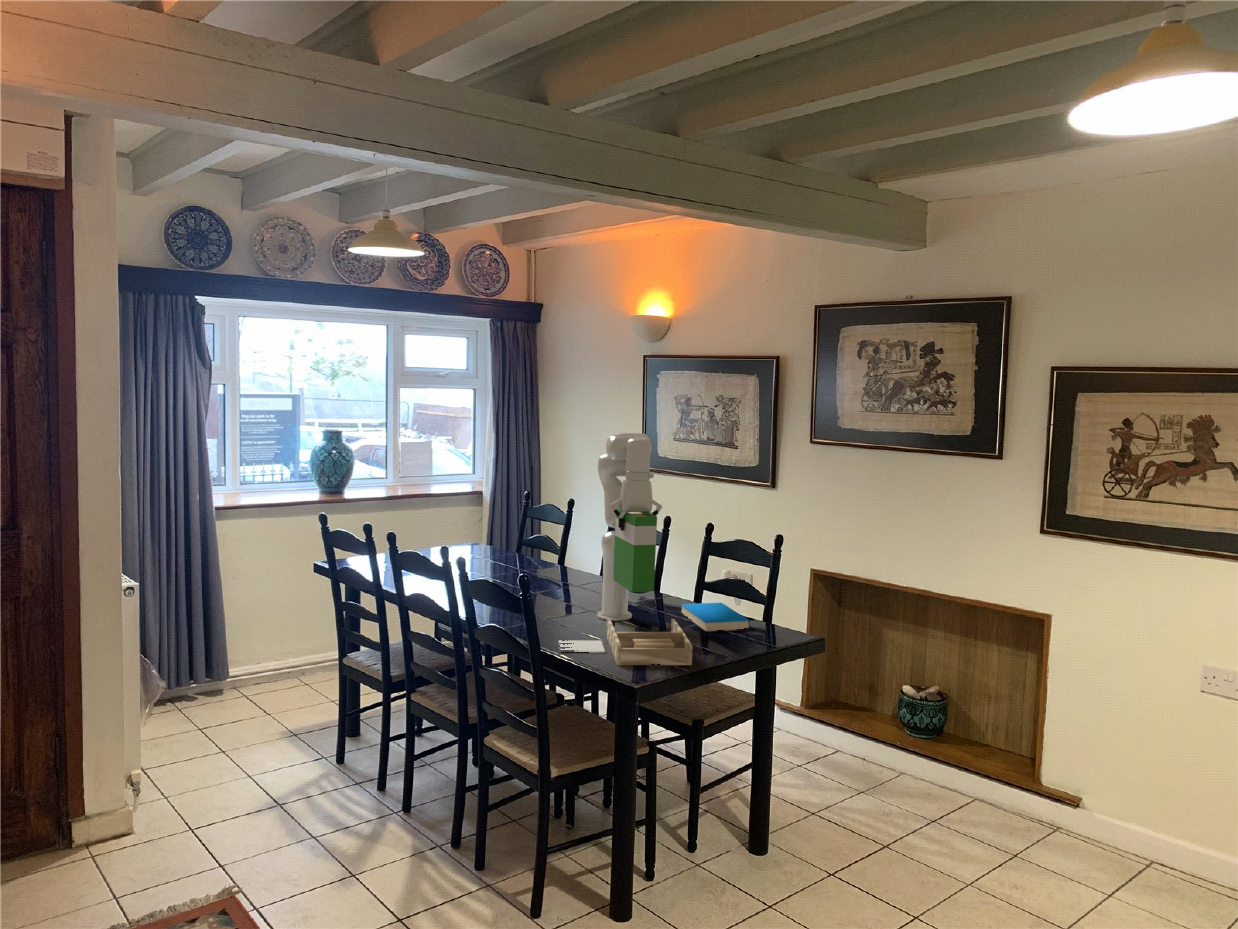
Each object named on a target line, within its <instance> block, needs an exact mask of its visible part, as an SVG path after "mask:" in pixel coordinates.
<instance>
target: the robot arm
mask: <svg viewBox="0 0 1238 929" xmlns="http://www.w3.org/2000/svg"><path fill="white" fill-rule="evenodd" d="M605 449H606V453H604V454H601V456H599V458H598V461H597V472H598V476H599V481H600V483H601V485H602V488H603V492H604V495H603V496H604V497H603V498H604V499H603V500H604V518H605V524H606V525H607V526H608V527H609V528H613V529H615V521H616V515H617V516H618V517H619V523H618V527H619V528H620V530H621V531H623V530H624V518H623V516H624V515H625V513H626V512H647V513H650V514H652V515H655V516H657V515H659V512H661V510H662V508H663V506H662V504H660V503H659V502H657V501H656V500H654V499H653V489H652V488H653V486H652V481H651V479H652V478H653V479H654V476H655V475H654V473H651V471H650V469H651V468H650V465H651V453H652V449H653V448H652V442H651V439H650V437H649V436H648V435H647V434H646V433H642V432H641V433H640V432H639V433H637V432H619V433H615V434H610V435H609V436H608V437H607V440H606V444H605ZM618 477H624V478H625V479H623V480H621V479H620V478H618ZM653 506H655V510H653ZM616 508H619V509H621V511H620V512H618V511H617V509H616ZM614 546H615V530H611V531H610V530H609V531H607V532H605V533H604V534H603V536H602V537H601V550H602V559H603V560H602V590H601V592H602V594H601V595H602V597H601V610H599V611H597V614H596V616H597V617H598V619H602V620H604V619H605V621H607V619H611V622H613V621H615V622H616V621H617V622H618V621H627V620H628V621H629V620H630V619H631V618H632V616H633V615H632V614H633V613H631V612H630V611H628V609H629V608H628V606H629V590H628V589H626V588H625V587H623V586H622V585H620V584H619V583H617V582H616V581H614V580H613V572H614Z"/></svg>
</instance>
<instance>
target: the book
mask: <svg viewBox="0 0 1238 929" xmlns="http://www.w3.org/2000/svg"><path fill="white" fill-rule="evenodd" d="M680 606H681V614H682V613H683V614H684V615H683V614H682V615H683V616H685V617H686V616H687V617H688V618H687V617H686V618H687V619H689V620H690V619H691V620H692V621H691V620H690V621H691V622H693V623H694V624H696V625H697V626H698V627H700V629H702V630H704V631H705V632H718V631H717V630H724V631H738V630H737V629H744V628H749V629H750V627H751V623H750V621H749V620H750V619H749V618H747V617H745V616H743V615H742V614H740V613H739V612H737V611H735V610H734V609H732V608H731V607H729V606H727V605H726V604H724V603H723V602H705V603H704V602H703V603H702V602H701V603H681V604H680Z"/></svg>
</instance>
